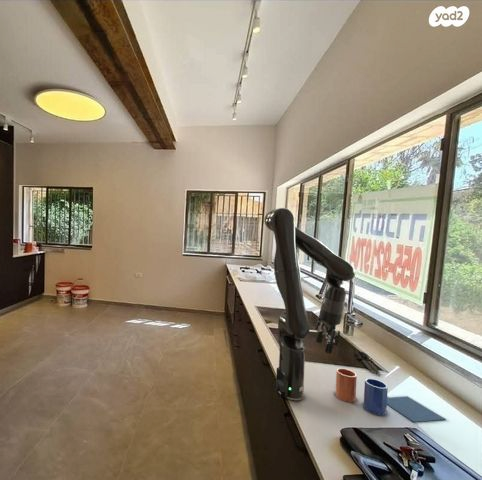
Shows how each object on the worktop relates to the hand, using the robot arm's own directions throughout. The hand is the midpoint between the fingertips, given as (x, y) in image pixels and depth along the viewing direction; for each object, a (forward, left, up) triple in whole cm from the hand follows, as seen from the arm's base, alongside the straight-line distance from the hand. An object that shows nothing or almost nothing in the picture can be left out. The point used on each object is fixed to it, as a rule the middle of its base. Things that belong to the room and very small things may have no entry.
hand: (323, 347), depth 110 cm
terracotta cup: (+7, -4, -19) cm, 20 cm away
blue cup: (+12, -12, -19) cm, 25 cm away
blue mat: (+26, -13, -19) cm, 35 cm away
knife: (+41, +20, -19) cm, 49 cm away
